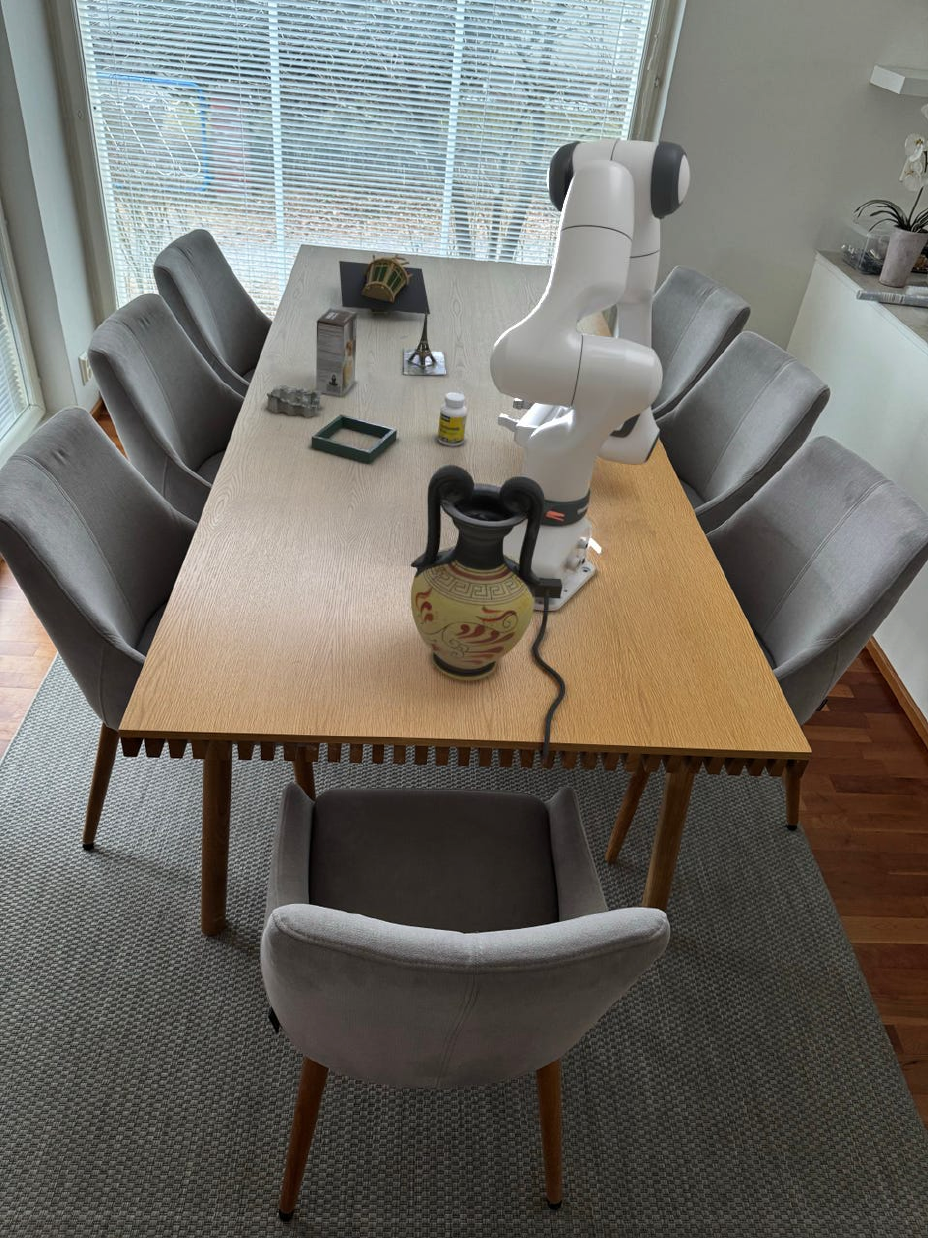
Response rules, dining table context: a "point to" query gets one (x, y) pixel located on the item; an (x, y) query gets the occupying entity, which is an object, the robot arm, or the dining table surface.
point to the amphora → (476, 572)
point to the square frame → (351, 452)
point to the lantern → (383, 286)
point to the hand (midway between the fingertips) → (506, 410)
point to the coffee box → (336, 351)
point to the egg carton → (294, 401)
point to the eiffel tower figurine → (423, 358)
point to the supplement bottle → (452, 420)
